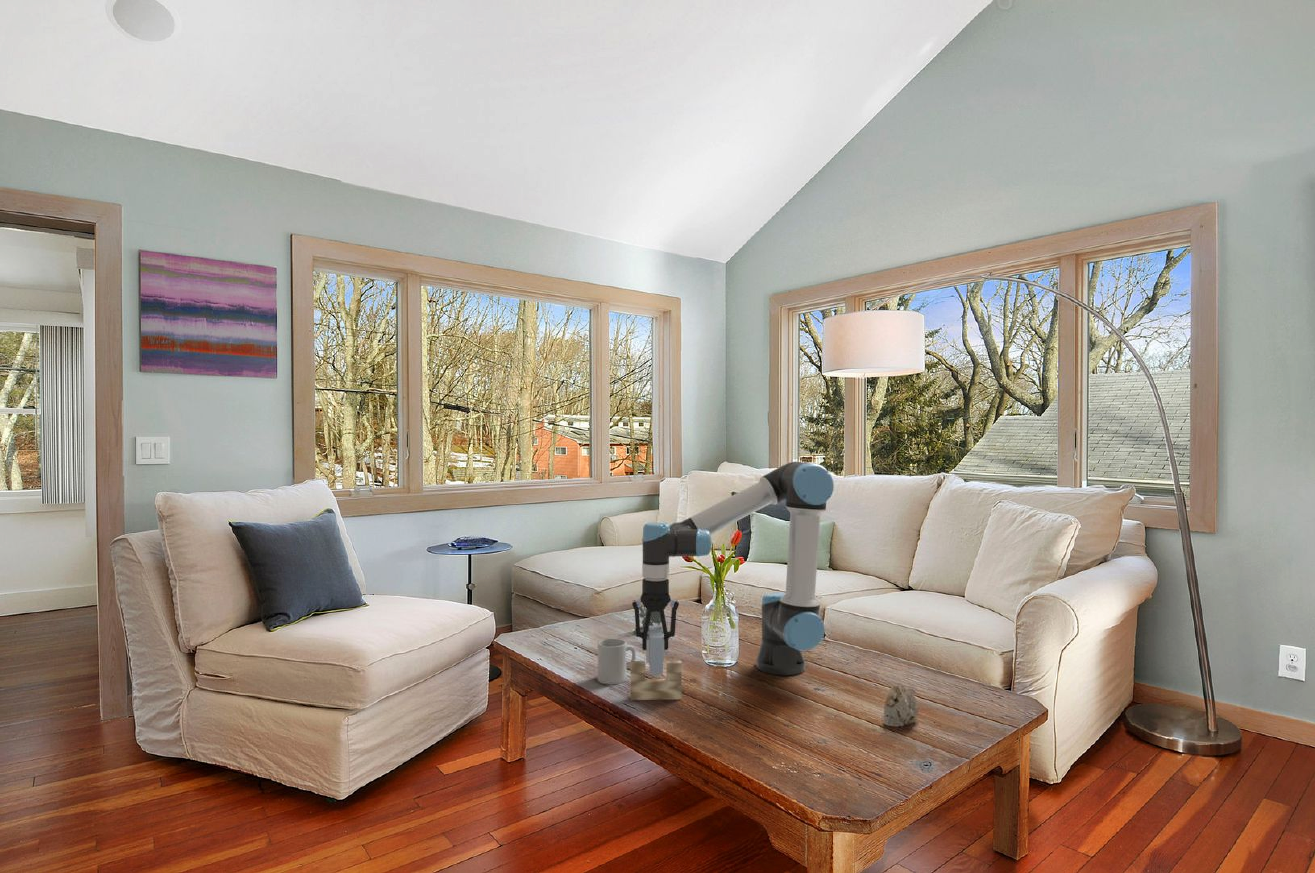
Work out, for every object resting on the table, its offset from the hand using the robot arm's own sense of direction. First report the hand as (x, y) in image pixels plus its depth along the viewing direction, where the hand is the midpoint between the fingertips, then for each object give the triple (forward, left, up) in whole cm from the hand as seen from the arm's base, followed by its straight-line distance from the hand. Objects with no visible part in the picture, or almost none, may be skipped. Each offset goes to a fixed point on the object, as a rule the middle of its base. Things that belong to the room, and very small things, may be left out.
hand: (655, 660), depth 194 cm
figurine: (0, -60, -9) cm, 61 cm away
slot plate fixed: (0, +4, -9) cm, 10 cm away
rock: (-63, +21, -9) cm, 67 cm away
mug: (+11, -12, -9) cm, 19 cm away
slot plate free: (0, +4, -1) cm, 4 cm away
